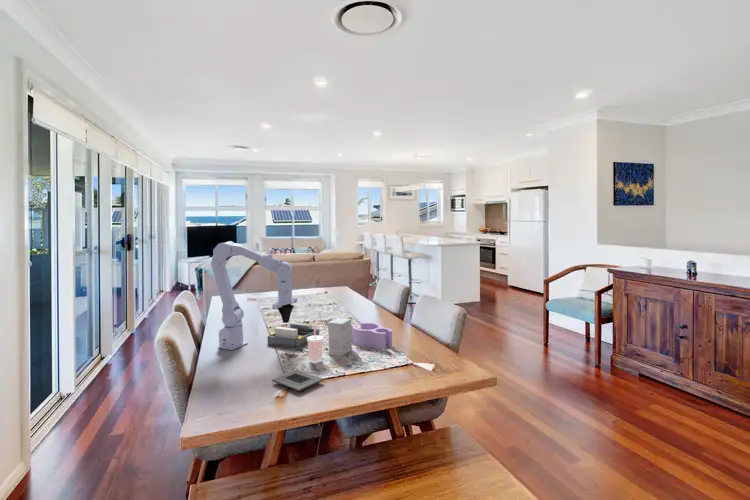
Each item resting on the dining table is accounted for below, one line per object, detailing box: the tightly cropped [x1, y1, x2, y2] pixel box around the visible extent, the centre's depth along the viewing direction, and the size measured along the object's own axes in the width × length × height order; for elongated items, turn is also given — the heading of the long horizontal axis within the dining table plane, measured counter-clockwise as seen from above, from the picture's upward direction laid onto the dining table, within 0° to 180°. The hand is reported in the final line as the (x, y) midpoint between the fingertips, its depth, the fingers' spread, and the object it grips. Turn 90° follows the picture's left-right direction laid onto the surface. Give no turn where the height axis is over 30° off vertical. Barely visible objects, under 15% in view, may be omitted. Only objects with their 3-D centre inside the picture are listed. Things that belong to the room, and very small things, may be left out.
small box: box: [327, 317, 353, 357], centre depth 163 cm, size 8×6×13 cm
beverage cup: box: [307, 324, 324, 364], centre depth 154 cm, size 6×6×14 cm
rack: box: [267, 321, 320, 350], centre depth 179 cm, size 17×15×6 cm
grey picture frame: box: [271, 369, 324, 392], centre depth 134 cm, size 13×10×2 cm
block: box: [274, 326, 298, 340], centre depth 174 cm, size 2×10×7 cm, turn 66°
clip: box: [351, 321, 393, 350], centre depth 174 cm, size 20×12×7 cm, turn 45°
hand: (285, 322), depth 173 cm, fingers closed
